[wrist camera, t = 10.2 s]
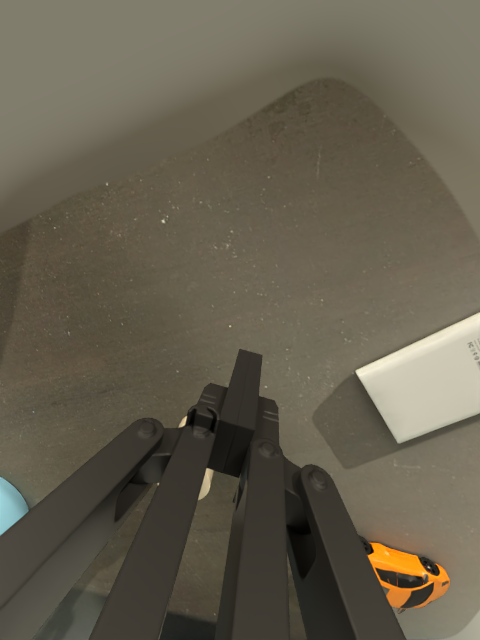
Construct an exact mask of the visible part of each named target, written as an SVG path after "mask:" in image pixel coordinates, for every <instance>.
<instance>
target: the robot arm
mask: <svg viewBox="0 0 480 640" xmlns="http://www.w3.org/2000/svg"><path fill="white" fill-rule="evenodd" d="M261 365H262V355H260V354H256V353H253V352H249V351H246V350H242V349H239V353H238V356H237V360H236V363H235V367H234V370H233V373H232V377H231V380H230V384H229V387H228V388H226V387H223V386H219V385H216V384H212V383H210V384H209V385H207V386H206V387H204V390H203V392H202V395H201V397H200V399H199V401H198V403H197V405H194V406H192V407H191V408H190V409H189V410H188V414H187V419H186V424H185V425H184V426H182V427H179V428H164V427H163V425H162V423H160V422H159V421H158V420H156V419H153V418H143V419H139V420H137V421H135V422H134V423H132V424H131V425H130V426H129V427H127V428H126V429H125V430H124V431H123V432H122V433H120V434H119V435H118V436H117V437H116V438H115V439H113V440H112V441H111V442H110V443H109V444H107V445H106V446H105V447H104V448H103V449H102V450H100V451H99V452H98V453H97V454H96V455H95V456H93V457H92V458H91V459H90V460H89V461H87V462H86V463H85V464H84V465H83V466H82V467H80V468H79V469H78V470H77V471H76V472H75V473H73V474H72V475H71V476H70V477H69V478H67V479H66V480H65V481H64V482H63V483H62V484H60V485H59V486H58V487H57V488H56V489H54V490H53V491H52V492H51V493H50V494H49V495H47V496H46V497H45V498H44V499H43V500H42V501H40V502H39V503H38V504H37V505H36V506H34V507H33V508H32V509H31V510H30V511H29V512H27V513H26V514H25V515H24V516H23V517H22V518H20V519H19V520H18V521H17V522H16V523H14V524H13V525H12V526H11V527H10V528H9V529H7V530H6V531H5V532H4V533H3V534H2V535H0V640H31V639H32V638H33V637H34V635H35V634H36V633H37V632H38V630H39V629H40V628H41V627H42V625H43V624H44V623H45V621H46V620H47V619H48V618H49V616H50V615H51V614H52V613H53V611H54V610H55V609H56V607H57V606H58V605H59V604H60V602H61V601H62V600H63V599H64V597H65V596H66V595H67V593H68V592H69V591H70V590H71V588H72V587H73V586H74V585H75V583H76V582H77V581H78V579H79V578H80V577H81V576H82V574H83V573H84V572H85V571H86V569H87V568H88V567H89V565H90V564H91V563H92V562H93V560H94V559H95V558H96V557H97V555H98V554H99V553H100V551H101V550H102V549H103V548H104V546H105V545H106V544H107V543H108V541H109V540H110V539H111V537H112V536H113V535H114V534H115V532H116V531H117V530H118V529H119V527H120V526H121V525H122V523H123V522H124V521H125V520H126V518H127V517H128V516H129V515H130V513H131V512H132V511H133V509H134V508H135V507H136V506H137V504H138V503H139V502H140V501H141V499H142V498H143V497H144V495H145V494H146V493H147V492H148V490H149V489H150V488H151V487H152V485H153V483H159V485H158V487H157V489H156V491H155V494H154V496H153V498H152V500H151V503H150V505H149V507H148V509H147V511H146V514H145V516H144V518H143V520H142V522H141V525H140V527H139V529H138V531H137V534H136V536H135V538H134V540H133V542H132V545H131V547H130V549H129V551H128V553H127V556H126V558H125V560H124V562H123V565H122V567H121V569H120V571H119V573H118V576H117V578H116V580H115V582H114V585H113V587H112V589H111V591H110V593H109V596H108V598H107V600H106V602H105V604H104V607H103V609H102V611H101V613H100V616H99V618H98V620H97V622H96V624H95V627H94V629H93V631H92V633H91V635H90V638H89V640H159V637H160V634H161V630H162V626H163V623H164V619H165V616H166V612H167V609H168V605H169V601H170V598H171V594H172V591H173V587H174V584H175V580H176V576H177V573H178V569H179V566H180V562H181V559H182V555H183V551H184V548H185V544H186V541H187V537H188V534H189V530H190V526H191V523H192V519H193V516H194V512H195V509H196V505H197V501H198V498H199V494H200V491H201V487H202V484H203V480H204V476H205V473H206V469H207V468H208V469H211V470H214V471H218V472H221V473H224V474H228V475H231V476H234V477H238V478H239V477H240V482H239V485H238V488H237V491H236V494H235V497H234V499H233V503H235V505H234V512H233V519H232V526H231V533H230V539H229V546H228V553H227V560H226V566H225V573H224V580H223V587H222V594H221V600H220V607H219V614H218V621H217V628H216V634H215V640H290V622H289V595H288V568H287V553H288V557H289V562H290V566H291V570H292V575H293V579H294V584H295V588H296V592H297V597H298V601H299V606H300V610H301V614H302V619H303V623H304V628H305V632H306V636H307V640H406V638H405V636H404V634H403V631H402V629H401V627H400V625H399V623H398V621H397V618H396V616H395V614H394V612H393V610H392V608H391V605H390V603H389V601H388V599H387V597H386V594H385V592H384V590H383V588H382V586H381V584H380V581H379V579H378V577H377V575H376V573H375V571H374V568H373V566H372V564H371V562H370V560H369V558H368V555H367V553H366V551H365V549H364V547H363V544H362V542H361V540H360V538H359V536H358V534H357V531H356V529H355V527H354V525H353V523H352V521H351V518H350V516H349V514H348V512H347V510H346V508H345V505H344V503H343V501H342V499H341V497H340V494H339V492H338V490H337V488H336V486H335V484H334V481H333V480H332V478H331V477H330V475H329V474H328V473H327V472H326V471H325V470H324V469H322V468H320V467H318V466H316V465H312V464H311V465H305V466H304V467H303V468H302V469H301V468H300V467H298V466H296V465H295V464H293V463H292V462H290V461H289V460H288V459H287V458H286V457H285V456H284V455H283V452H282V449H281V448H280V446H279V422H278V421H279V419H278V406H277V405H276V403H275V401H274V400H271V399H267V398H264V397H260V396H259V386H260V375H261ZM240 474H241V476H240Z"/></svg>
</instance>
